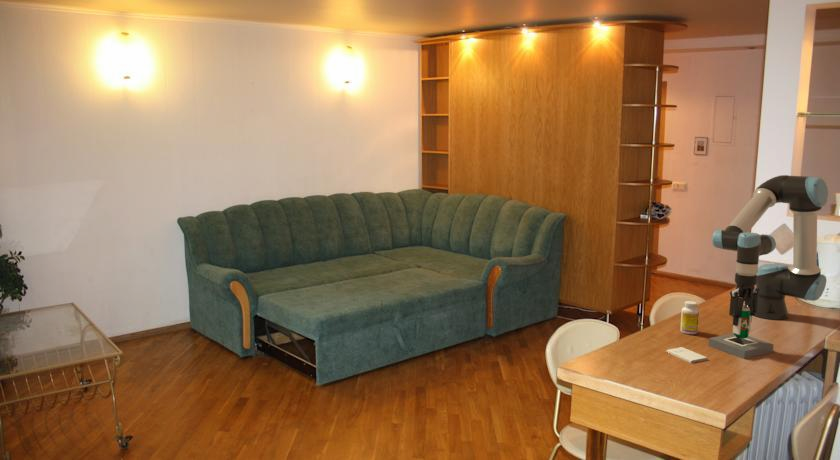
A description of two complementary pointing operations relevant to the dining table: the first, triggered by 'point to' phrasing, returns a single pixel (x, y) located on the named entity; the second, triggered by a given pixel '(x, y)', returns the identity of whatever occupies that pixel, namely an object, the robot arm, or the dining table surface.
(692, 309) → the supplement bottle
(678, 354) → the external hard drive
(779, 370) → the dining table surface
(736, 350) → the socket board
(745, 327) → the soda can
